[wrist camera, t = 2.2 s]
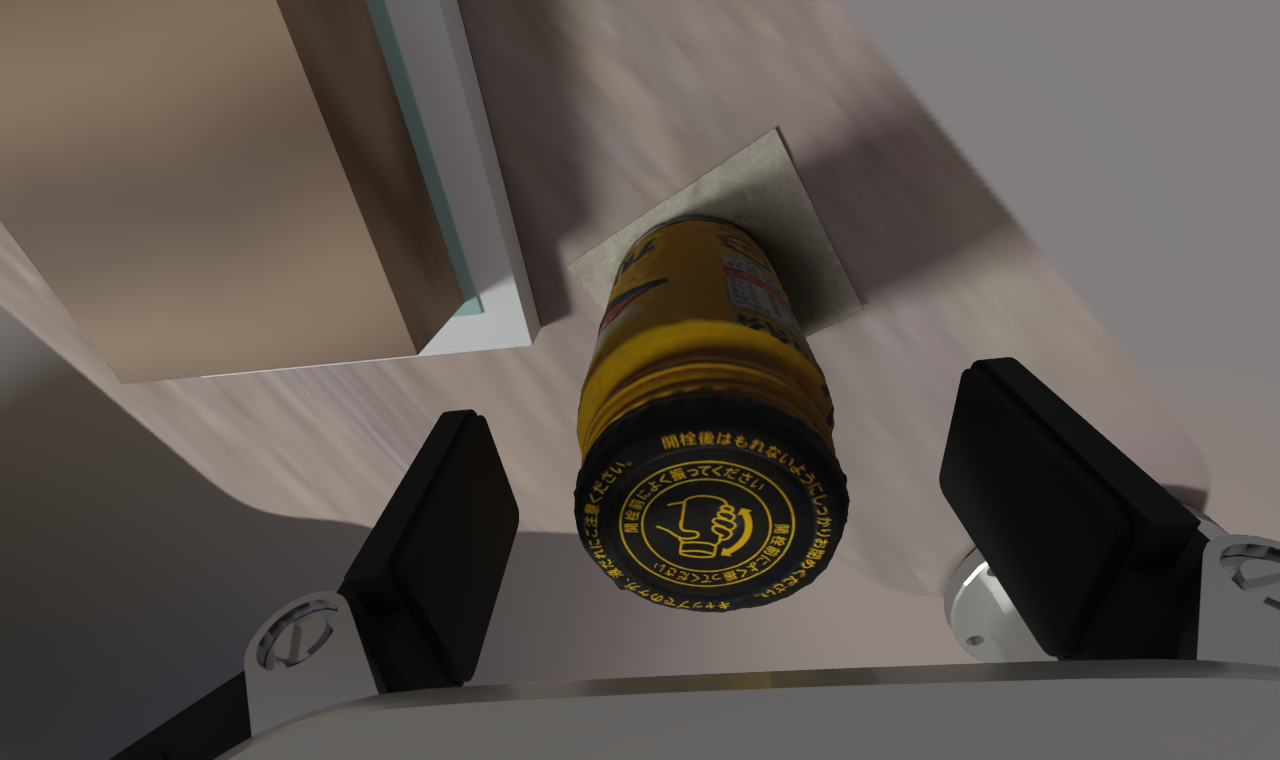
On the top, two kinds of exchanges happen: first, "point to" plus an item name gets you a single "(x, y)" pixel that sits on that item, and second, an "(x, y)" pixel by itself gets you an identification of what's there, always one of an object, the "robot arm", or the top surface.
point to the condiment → (713, 393)
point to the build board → (457, 174)
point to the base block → (218, 183)
